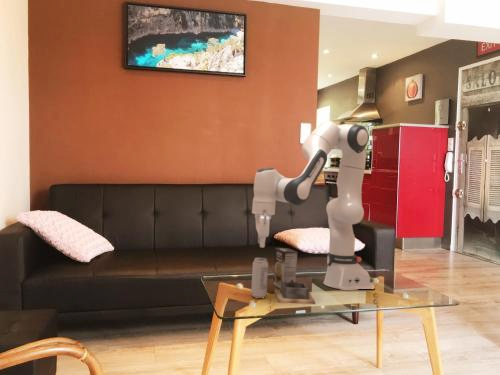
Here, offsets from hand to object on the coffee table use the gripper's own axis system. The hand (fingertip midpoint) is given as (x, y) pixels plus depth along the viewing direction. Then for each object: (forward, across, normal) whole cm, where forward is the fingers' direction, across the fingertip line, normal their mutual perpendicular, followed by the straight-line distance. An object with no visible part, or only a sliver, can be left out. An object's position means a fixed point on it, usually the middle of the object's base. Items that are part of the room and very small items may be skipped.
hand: (261, 245), depth 167 cm
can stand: (+20, +1, -14) cm, 25 cm away
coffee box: (+20, +17, -12) cm, 29 cm away
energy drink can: (+21, 0, 0) cm, 21 cm away
